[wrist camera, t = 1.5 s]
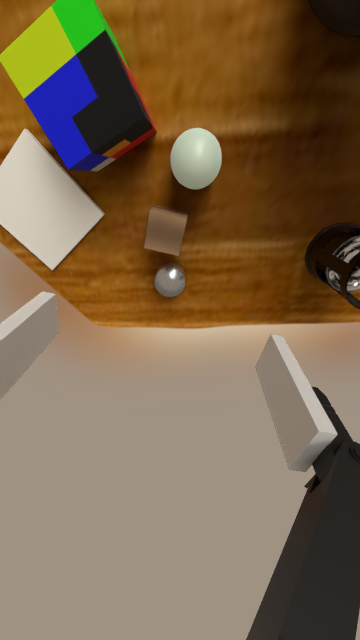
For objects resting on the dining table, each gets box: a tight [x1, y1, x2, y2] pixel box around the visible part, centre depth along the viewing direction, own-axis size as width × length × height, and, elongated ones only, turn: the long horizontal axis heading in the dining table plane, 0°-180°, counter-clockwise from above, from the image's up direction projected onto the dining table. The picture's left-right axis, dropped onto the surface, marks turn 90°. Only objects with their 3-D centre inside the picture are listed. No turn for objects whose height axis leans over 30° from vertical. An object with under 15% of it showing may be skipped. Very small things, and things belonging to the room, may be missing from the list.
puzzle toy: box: [0, 0, 157, 171], centre depth 28 cm, size 10×10×10 cm
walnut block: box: [144, 205, 188, 256], centre depth 36 cm, size 5×5×7 cm
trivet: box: [0, 129, 105, 270], centre depth 38 cm, size 14×14×1 cm
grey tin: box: [154, 261, 186, 297], centre depth 41 cm, size 5×5×4 cm
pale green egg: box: [171, 128, 222, 189], centre depth 31 cm, size 6×6×7 cm
